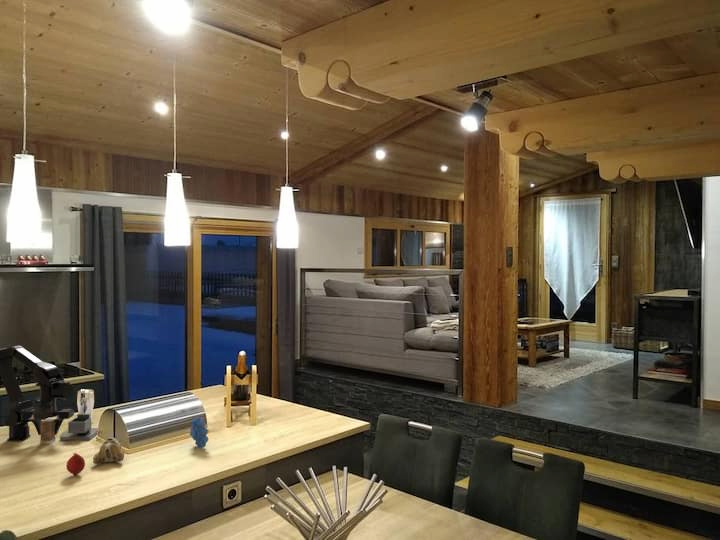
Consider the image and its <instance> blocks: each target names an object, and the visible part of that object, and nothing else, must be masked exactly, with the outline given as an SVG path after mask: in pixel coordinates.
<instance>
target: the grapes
mask: <svg viewBox="0 0 720 540" xmlns="http://www.w3.org/2000/svg"><path fill="white" fill-rule="evenodd" d="M191 424H192V425H191V427H190V432H189V435H190V436H191V438H192V440H194V441H195V442H194V443H195V445H196V446H197V447H200V448H205V447H206V445H207V443H208V441H209V437H208V436H207V435H208V432H209V430H208V429H207V427H205V426H206V424H207V423H206V422H205V420H203V419H202V417H200V416H199V415H198V416H196V417H195V418H194V417H193V419H192V420H191Z"/></svg>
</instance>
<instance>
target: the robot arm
mask: <svg viewBox="0 0 720 540" xmlns="http://www.w3.org/2000/svg"><path fill="white" fill-rule="evenodd" d="M14 359H15V360H17V361H18V362H20V363H21V364H22V365H24V366H25V367H26V368H28V369H30V371H32V372H33V375H34V377H35V378H36V379H37V380H38V382H36V383H35V387H39V400H38V403H37V404H38V405H37V406H36V407H35V406H34V405H33V400H31V399H28V400H27V399H26V398H25V396H24V394H23V392H22V389H21V387H20V384H19V381H18V378H17V377H16V373H15V371H14V369H13V364H14ZM0 379H1V380H2V384H3V386H4V389H5V391H6V393H7V396H8V399H9V401H10V406H9V409H8V412H9V416H8V417H7V418H6V419H5V420H4V424H5V426H6V427H8V438H7V439H6V441H8V442H10V441H24V440H26V439H27V438H29V437H31V434H30V426H29V423H31V424H33V425H34V427H35V429H36V432H37V435H38V436H41V421H43V420H45V419H48V417H56V418H54V419H55V420H54V421H55V436H57V435H58V433H59V431H60V428H61V426H62V423H63V422H64V420H68V419H70V418H73V416H75V411H74V409H73V408H63V409H62V410H60V411H57V410H58V407H57V402H56V401H58V399H61V400H62V399H63V400H70V398H72V397H73V395H74V392H75V391H74V390H75V389H74V387H73V386H72V385H71V384H70V381H65V379H64V377H63V376H62V374H61V373H60V371H59V368H58V367H57V366H56V365H54V364H52V363H49V362H45V361H42V360H41V359H39V358H38V357H37V356H35V355H33V354H32V353H31V352H30V351H28V350H27V349H25V348H24V347H23V345H19V344H18V345H13V346H10V347H2V348H0Z"/></svg>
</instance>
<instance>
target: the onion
mask: <svg viewBox="0 0 720 540" xmlns="http://www.w3.org/2000/svg"><path fill="white" fill-rule="evenodd" d="M85 466H86V462H85V459H84V457H82V455H80V454H78V453H77V452H74V453H73V455H72V456H70V457H69V459H68V461H67V462H66V470H67V472H69V473H70V474H72V475H73V476H78V475H79V474H80V473H81V472H83V470H85Z"/></svg>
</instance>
